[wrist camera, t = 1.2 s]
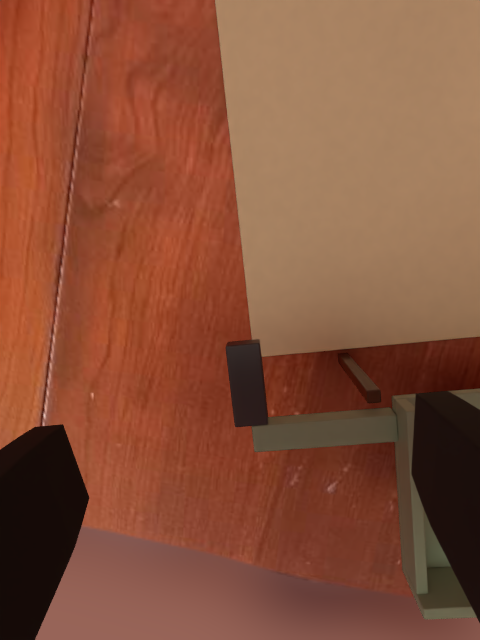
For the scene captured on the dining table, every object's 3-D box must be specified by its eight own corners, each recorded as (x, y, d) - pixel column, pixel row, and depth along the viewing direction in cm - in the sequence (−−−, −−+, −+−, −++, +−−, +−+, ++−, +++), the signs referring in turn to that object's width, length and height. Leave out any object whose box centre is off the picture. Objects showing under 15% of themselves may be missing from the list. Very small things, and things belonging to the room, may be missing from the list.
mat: (671, 317, 19) (677, 318, 19) (253, 356, 21) (253, 357, 21) (688, -165, 17) (695, -172, 16) (206, -78, 18) (205, -84, 18)
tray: (671, 552, 15) (746, 606, 13) (254, 573, 16) (252, 627, 14) (680, 297, 14) (767, 305, 11) (227, 341, 15) (220, 357, 13)
